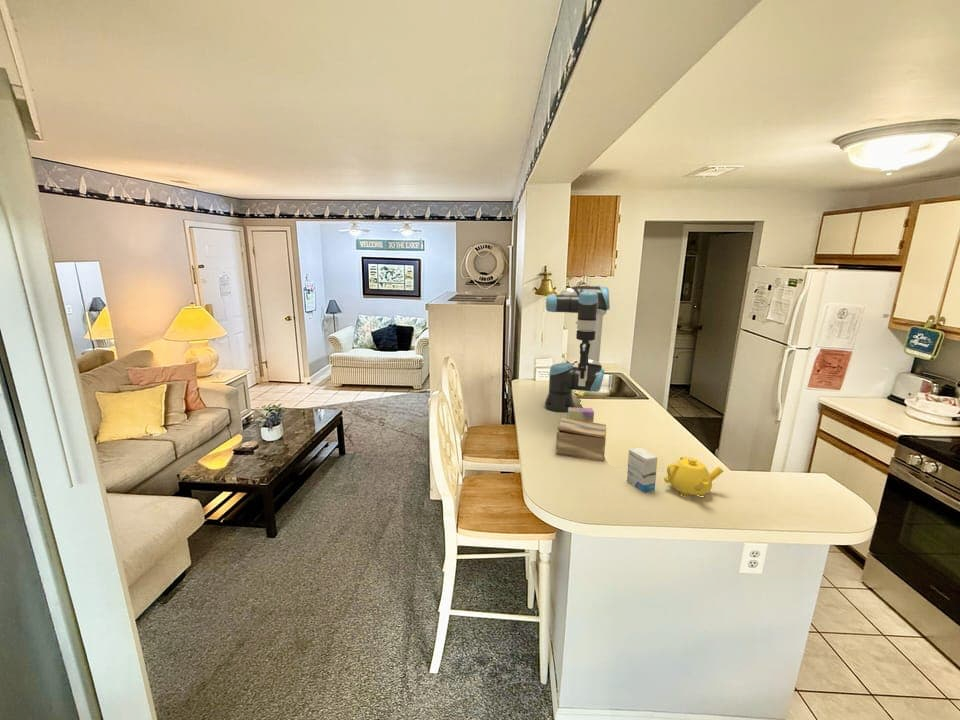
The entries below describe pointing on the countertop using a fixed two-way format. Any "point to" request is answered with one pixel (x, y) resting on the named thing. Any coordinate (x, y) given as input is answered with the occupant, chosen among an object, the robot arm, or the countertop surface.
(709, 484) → the teapot
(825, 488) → the countertop surface
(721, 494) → the countertop surface
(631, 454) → the ink box
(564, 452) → the brown wooden crate
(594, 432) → the lid
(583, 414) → the box
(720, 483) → the countertop surface
